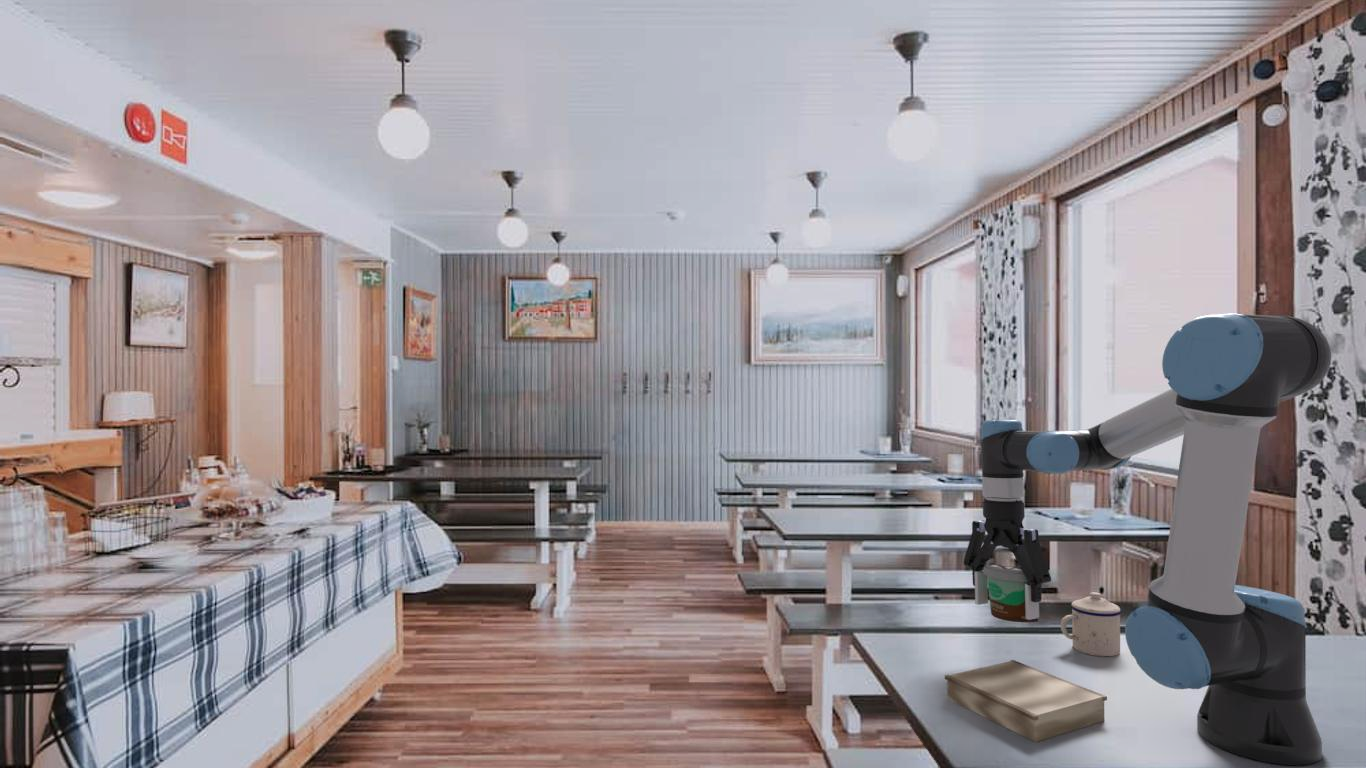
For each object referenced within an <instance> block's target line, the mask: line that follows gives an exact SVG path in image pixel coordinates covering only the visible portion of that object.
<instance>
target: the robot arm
mask: <svg viewBox="0 0 1366 768" xmlns="http://www.w3.org/2000/svg"><path fill="white" fill-rule="evenodd" d="M1161 364H1162V366H1161V367H1162V372H1163V376H1164V378H1165V379H1167V380H1168V382H1167V384H1168V386H1169V387H1170V389H1168V390H1166V391H1164V392H1163V393H1160V394H1158V395H1155V396H1154V397H1152V398H1150V399H1148V400H1146V401H1143V402H1141V403H1140V404H1138V405H1135V406H1133V407H1132V408H1129V409H1127V410H1125V411H1122V412H1121V413H1119V414H1117V415H1115V416H1113V417H1111V418H1108V419H1107V420H1105V421H1103V422H1101V423H1098V424H1096V425H1095V426H1092V427H1090V428H1087V429H1070V430H1068V429H1067V430H1024V429H1023V424H1022V422H1021V421H1020V420H1019V419H986V420H983V422H982V423H981V429H980V430H981V431H980V440H979V443H980V454H981V456H980V457H981V484H982V485H981V490H982V491H981V492H982V497H985V498H984V499H983V500H982V516H983V517H984V518H985V520H984V519H981V520H973V521H972V523H971V528H972V529H971V534H970V539H969V542H968V545H967V548H966V553H965V556H964V560H963V564H964V566H968V567H969V568H970V570H971V571H972V573H971V574H972V585H973V587H974V598H975V599H974V601H975V602H974V603H975V605H977V606H979V605H984V604H988V603H989V590H988V581H987V576H986V575H984V574H983V571H984V566H985V564H986V561H988V560H990V559H991V556H992V555H993V553H994V552H995V550H996V548H997V547H999V546H1001V547H1003V548H1006V549H1008V550H1009V551H1010V552H1011V553H1012V555H1013V556H1014V557H1015V559H1016V561H1017V564H1018V565H1019V568H1020V569H1022V571H1023V573H1024V575H1025V576H1026V578H1027V580H1028V583H1026V584H1025V607H1026V619H1028V620H1031V619H1036V618H1038V619H1039V618H1040V603H1041V602H1042V595H1043V593H1042V586H1043V584H1045V583H1050V582H1052V576H1051V574H1050V571H1049V568H1048V565H1047V562H1046V559H1045V555H1044V553H1043V550H1042V547H1041V544H1040V541H1039V540H1040V539H1039V530H1038V529H1037V528H1030V529H1029V528H1025V527H1024V525H1023V521H1024V519H1025V517H1026V516H1025V515H1026V514H1025V501H1024V500H1023V499H1022V498H1023V497H1024V496H1025V493H1024V491H1025V489H1024V484H1025V483H1024V471H1028V472H1035V473H1043V474H1045V475H1058V474H1061V475H1062V474H1067V473H1068V472H1071V471H1072V472H1073V471H1092V470H1094V471H1095V470H1101V471H1102V470H1103V471H1104V470H1105V471H1106V470H1112V469H1117V468H1121V467H1124V466H1125V465H1127V464H1128V462H1129V461H1130V459H1131V458H1132V457H1133V456H1135V455H1138V454H1141V453H1144V452H1146V451H1148V450H1150V449H1152V448H1155V447H1158V446H1159V445H1162V444H1164V443H1167V442H1169V441H1171V440H1173V439H1177V438H1179V437H1181V436H1182V437H1183V438H1182V444H1181V445H1182V446H1181V452H1180V459H1179V465H1178V472H1177V479H1176V484H1175V485H1176V487H1175V494H1174V498H1173V499H1174V500H1173V507H1172V513H1171V521H1170V528H1169V533H1168V534H1169V535H1168V541H1167V547H1166V555H1165V563H1164V570H1163V574H1162V575H1161V576H1160V577H1158V578H1155V579H1153V580H1152V581H1151V582H1150V583H1149V586H1148V587H1149V588H1148V594H1147V598H1146V599H1147V601H1146V605H1141V606H1139V607H1138V608H1136V609H1135V610H1134V611H1132V612H1131V613H1130V614H1129V615H1128V617H1127V618H1126V621H1125V626H1124V628H1125V629H1124V636H1125V641H1126V645H1127V647H1128V650H1129V652H1130V654H1131V656H1132V657H1133V658H1134V660H1135V661H1136V665H1138V666H1139V668H1140V669H1141V670H1142V672H1144V673H1145V674H1146V676H1148V677H1149V678H1150V679H1152V680H1153V681H1155V682H1156V683H1158V684H1160V685H1162V686H1163V687H1166V688H1169V689H1172V690H1173V689H1174V690H1188V689H1190V690H1200V689H1202V688H1205V687H1207V689H1206V692H1205V694H1204V696H1203V700H1202V701H1201V705H1200V706H1199V709H1198V711H1197V715H1196V729H1197V732H1198V733H1199V735H1200V736H1201V737H1202V738H1203V739H1205V740H1206V741H1207V742H1209V743H1210V744H1212V745H1214V746H1216V747H1218V748H1220V749H1222V750H1224V751H1227V752H1229V753H1232V754H1234V755H1238V756H1241V757H1243V758H1248V759H1250V760H1255V761H1259V762H1264V763H1271V764H1277V765H1286V766H1288V765H1289V766H1307V765H1311V764H1316V763H1318V762H1319V761H1321V760H1322V757H1323V742H1322V737H1321V734H1320V732H1319V729H1318V727H1317V725H1316V722H1315V720H1314V718H1313V717H1314V716H1313V715H1312V711H1311V710H1310V707H1309V704H1308V702H1307V693H1306V692H1307V691H1306V688H1307V687H1306V685H1307V681H1306V679H1307V678H1306V676H1307V675H1306V674H1307V673H1306V672H1307V671H1306V670H1307V669H1306V664H1307V663H1306V662H1307V661H1306V648H1307V647H1306V643H1307V642H1306V629H1307V627H1308V626H1307V623H1306V620H1305V609H1304V606H1303V605H1302V603H1301V602H1300V601H1299V600H1298V599H1296V598H1294V597H1292V596H1290V595H1287V594H1283V593H1279V592H1275V591H1271V590H1267V589H1261V588H1258V587H1250V586H1244V585H1239V584H1236V582H1237V576H1238V571H1239V563H1240V560H1241V559H1240V558H1241V551H1242V546H1243V539H1244V532H1245V528H1246V521H1247V515H1248V509H1249V502H1250V496H1251V491H1252V483H1253V479H1254V478H1253V477H1254V471H1255V464H1256V460H1257V459H1256V458H1257V453H1258V446H1259V442H1260V441H1259V440H1260V433H1261V429H1262V428H1263V427H1264V426H1265V425H1266V424H1268V423H1269V422H1272V421H1273V420H1275V419H1277V415H1278V411H1279V406H1280V405H1279V404H1280V403H1282V402H1285V401H1288V400H1290V399H1293V398H1296V397H1298V396H1301V395H1303V394H1305V393H1307V392H1309V391H1311V390H1313V389H1314V388H1315V387H1317V386H1318V385H1319V384H1321V382H1322V381H1323V380H1324V378H1325V377H1326V375H1328V372H1329V369H1330V366H1331V364H1332V351H1331V346H1330V343H1329V341H1328V338H1327V337H1326V336H1325V335H1324V333H1323V332H1322V331H1321V330H1320V329H1318V328H1317V327H1316V326H1315V325H1314V324H1312V323H1311V322H1308V321H1306V320H1304V319H1302V318H1300V317H1299V318H1298V317H1295V316H1291V315H1290V316H1289V315H1262V314H1261V315H1260V314H1242V313H1241V314H1239V313H1233V312H1232V313H1231V312H1230V313H1219V314H1207V315H1203V316H1198V317H1195V318H1193V319H1192V320H1190V321H1187V322H1186V323H1185V324H1183V326H1181V327H1180V328H1178V329H1177V330H1176V331H1175V332H1173V334H1172V336H1171V337H1170V338H1169V340H1168V341H1167V344H1166V346H1165V349H1164V352H1163V355H1162V361H1161ZM986 533H987V535H986Z"/></svg>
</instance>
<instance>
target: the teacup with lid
mask: <svg viewBox="0 0 1366 768" xmlns="http://www.w3.org/2000/svg"><path fill="white" fill-rule="evenodd" d="M1070 608H1071V612H1072V613H1071V614H1067V615H1065V616H1064V617H1062V618H1061V620H1060V631H1061V632H1062V634H1063V635H1064V636H1065V637H1066V638H1067V639H1069V640H1072V647H1073V648H1074V649H1075V650H1076V651H1079V652H1080V653H1083V654H1086V655H1091V656H1096V657H1104V656H1109V657H1114V655H1116V656H1118V655H1119V654H1120V653H1121V614H1122V611H1121V608H1120V606H1118V605H1117V604H1115V603H1112V602H1110V601H1109V600H1107V599H1105V598H1102V594H1101V593H1100V592H1096V591H1095V592H1094V591H1093V592H1090V593H1089V596H1086V597H1084V598H1081V599H1076V600H1074V601H1072V603H1071V605H1070ZM1070 620H1071V623H1072V624H1071V625H1072V634H1069V632H1068V630H1067V623H1068V622H1069V621H1070ZM1117 654H1118V655H1117Z"/></svg>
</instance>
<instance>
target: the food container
mask: <svg viewBox="0 0 1366 768" xmlns="http://www.w3.org/2000/svg"><path fill="white" fill-rule="evenodd" d="M983 570H984V571H983V574H984V575H986V576H987V583H988V599H989V606H990V614H991V615H992V616H993V617H994V618H996V619H999V620H1002V621H1007V622H1011V623H1012V622H1014V623H1037V622H1039V618H1036V619H1031V620H1028V619H1026V607H1025V584H1026V583H1028V580H1027V578H1026V576H1025V575H1024V573H1023V571H1022V569H1021V567H1017V566H1011V565H1010V566H1008V565H1007V566H1005V565H1001V564H995V558H994V559H993V558H992V559H989V560H988V561H986V564H985V566H984V569H983Z"/></svg>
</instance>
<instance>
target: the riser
mask: <svg viewBox="0 0 1366 768" xmlns="http://www.w3.org/2000/svg"><path fill="white" fill-rule="evenodd" d="M944 680H946V681H947V683H946V684H947V686H946V687H947V688H946V689H947V694H946V695H947V700H950V701H951V702H953V703H956V704H957V705H960V706H962V707H964V708H966V709H967V710H970V711H972V712H973V713H976V714H978V715H980V716H982V717H984V718H985V719H989V720H990V721H992V722H994V723H996V724H998V725H1000V726H1002V727H1004V728H1007V729H1008V730H1011V731H1013V732H1014V733H1017V734H1019V735H1020V736H1023V737H1024V738H1027V739H1029V740H1031V741H1033V742H1035V743H1037V742H1040V741H1043V740H1046V739H1050V738H1053V737H1056V736H1060V735H1063V734H1067V733H1069V732H1073V731H1076V730H1079V729H1083V728H1086V727H1090V726H1093V725H1096V724H1100V723H1104V722H1105V701H1107V700H1108V697H1107V696H1108V695H1107V696H1106V695H1105V694H1102V693H1099V692H1097V691H1094V690H1092V689H1089V688H1086V687H1084V686H1081V685H1079V684H1076V683H1073V682H1071V681H1068V680H1066V679H1064V678H1061V677H1058V676H1056V675H1053V674H1051V673H1048V672H1045V671H1042V670H1040V669H1037V668H1035V667H1032V666H1030V665H1027V664H1025V663H1021V662H1019V661H1017V660H1014V659H1011V660H1009V661H1005V662H1001V663H997V664H993V665H988V666H983V667H979V668H975V669H970V670H966V671H961V672H957V673H954V674H953V673H952V674H946V675H944Z"/></svg>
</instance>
